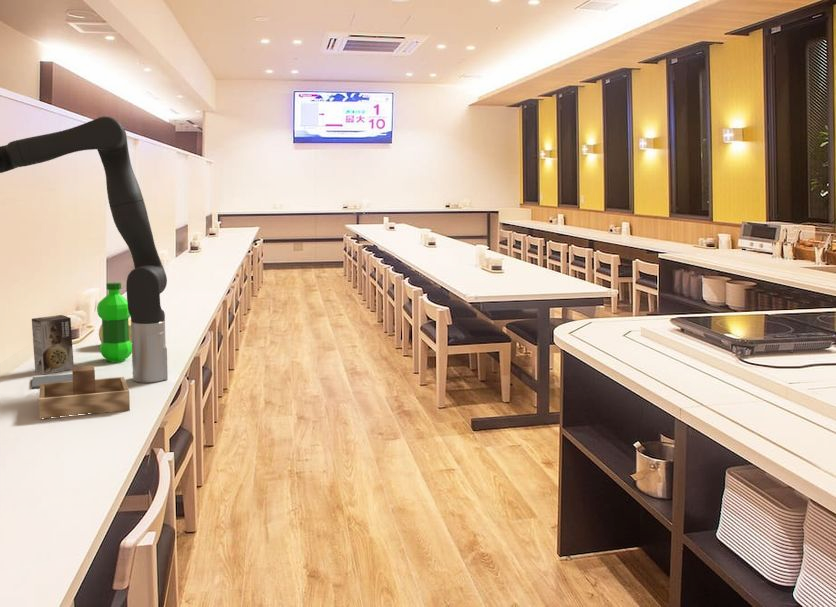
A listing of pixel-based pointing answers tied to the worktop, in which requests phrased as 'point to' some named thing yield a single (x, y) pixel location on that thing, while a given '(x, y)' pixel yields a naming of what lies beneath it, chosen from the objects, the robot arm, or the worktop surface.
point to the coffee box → (52, 344)
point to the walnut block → (83, 380)
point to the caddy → (83, 398)
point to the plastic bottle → (114, 325)
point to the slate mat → (50, 379)
